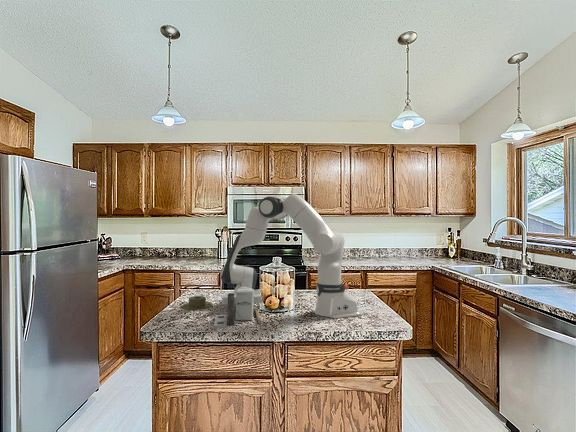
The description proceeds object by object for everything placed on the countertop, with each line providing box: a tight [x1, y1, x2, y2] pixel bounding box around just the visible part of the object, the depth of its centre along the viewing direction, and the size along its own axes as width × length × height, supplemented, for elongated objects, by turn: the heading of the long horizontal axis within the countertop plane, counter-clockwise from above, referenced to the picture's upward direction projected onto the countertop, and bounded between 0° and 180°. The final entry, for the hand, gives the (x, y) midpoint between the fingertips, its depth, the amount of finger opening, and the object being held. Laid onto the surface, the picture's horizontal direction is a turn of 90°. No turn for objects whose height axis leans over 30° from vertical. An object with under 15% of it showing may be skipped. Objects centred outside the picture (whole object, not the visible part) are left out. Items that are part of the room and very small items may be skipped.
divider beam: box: [227, 292, 262, 327], centre depth 161 cm, size 14×21×13 cm, turn 9°
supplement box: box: [235, 288, 255, 321], centre depth 161 cm, size 7×7×13 cm
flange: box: [181, 295, 213, 311], centre depth 183 cm, size 5×15×15 cm
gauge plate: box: [213, 314, 228, 329], centre depth 155 cm, size 5×16×1 cm, turn 9°
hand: (244, 302), depth 164 cm, fingers closed
